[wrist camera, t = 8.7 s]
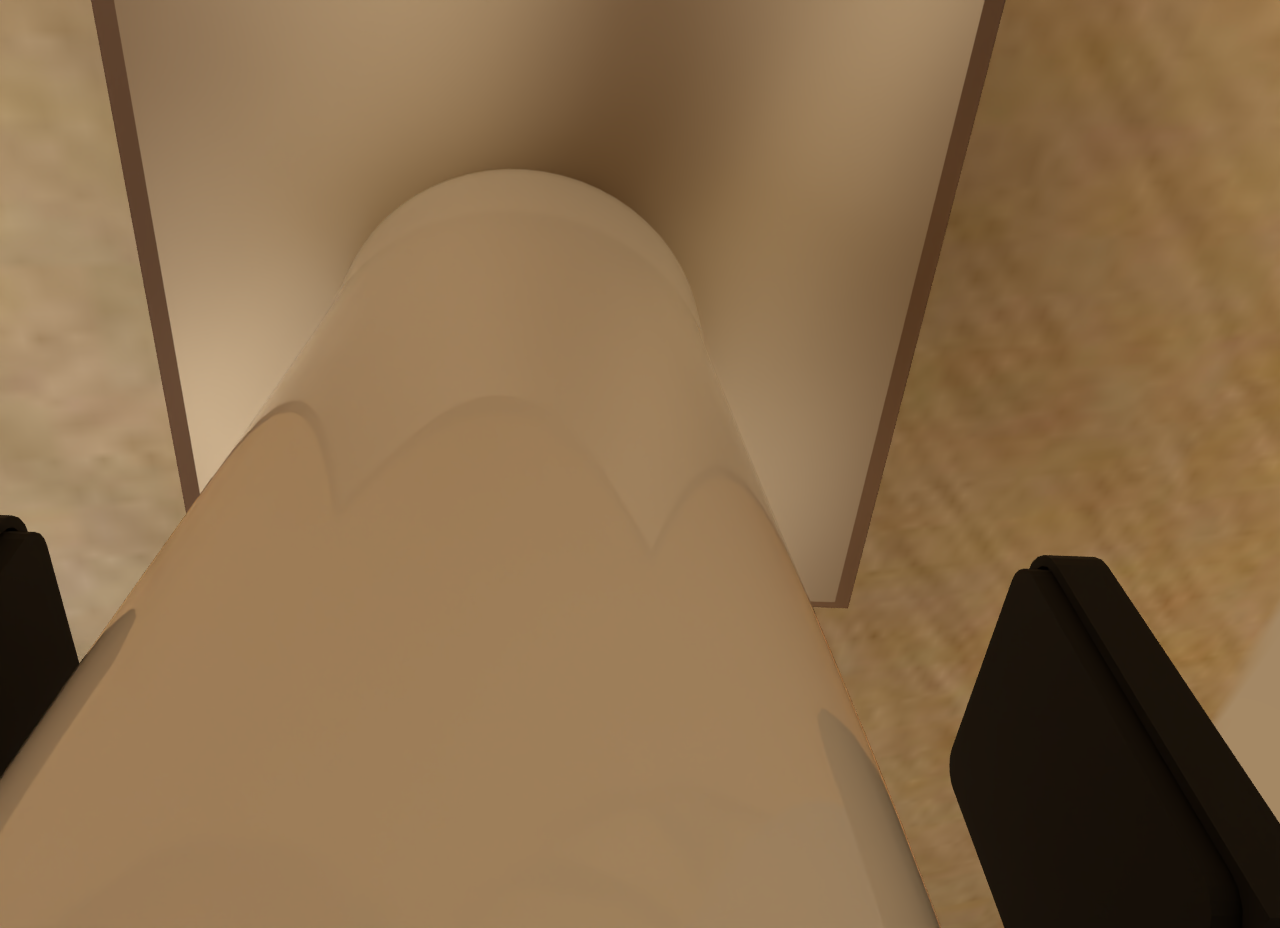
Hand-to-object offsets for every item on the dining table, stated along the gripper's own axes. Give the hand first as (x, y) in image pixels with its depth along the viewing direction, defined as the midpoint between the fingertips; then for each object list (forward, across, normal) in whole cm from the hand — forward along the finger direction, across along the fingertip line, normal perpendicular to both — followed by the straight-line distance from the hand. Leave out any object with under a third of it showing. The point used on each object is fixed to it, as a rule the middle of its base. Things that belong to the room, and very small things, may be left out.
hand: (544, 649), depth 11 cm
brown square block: (+13, 0, 0) cm, 13 cm away
